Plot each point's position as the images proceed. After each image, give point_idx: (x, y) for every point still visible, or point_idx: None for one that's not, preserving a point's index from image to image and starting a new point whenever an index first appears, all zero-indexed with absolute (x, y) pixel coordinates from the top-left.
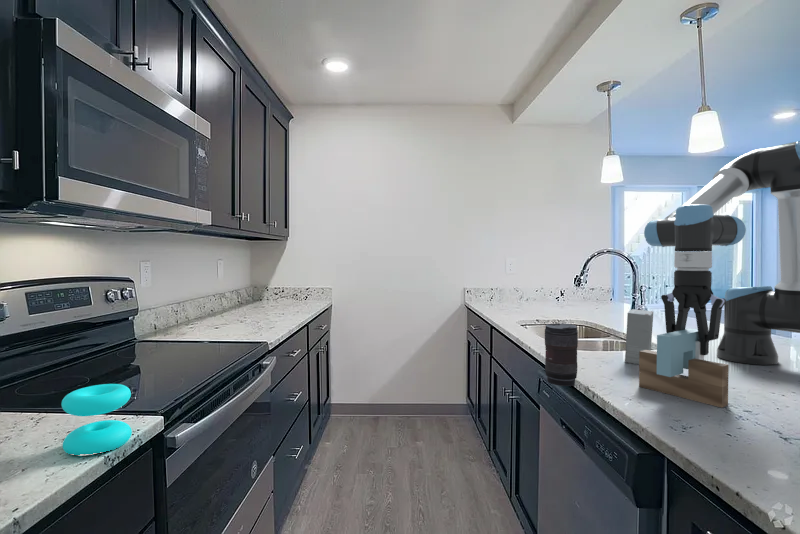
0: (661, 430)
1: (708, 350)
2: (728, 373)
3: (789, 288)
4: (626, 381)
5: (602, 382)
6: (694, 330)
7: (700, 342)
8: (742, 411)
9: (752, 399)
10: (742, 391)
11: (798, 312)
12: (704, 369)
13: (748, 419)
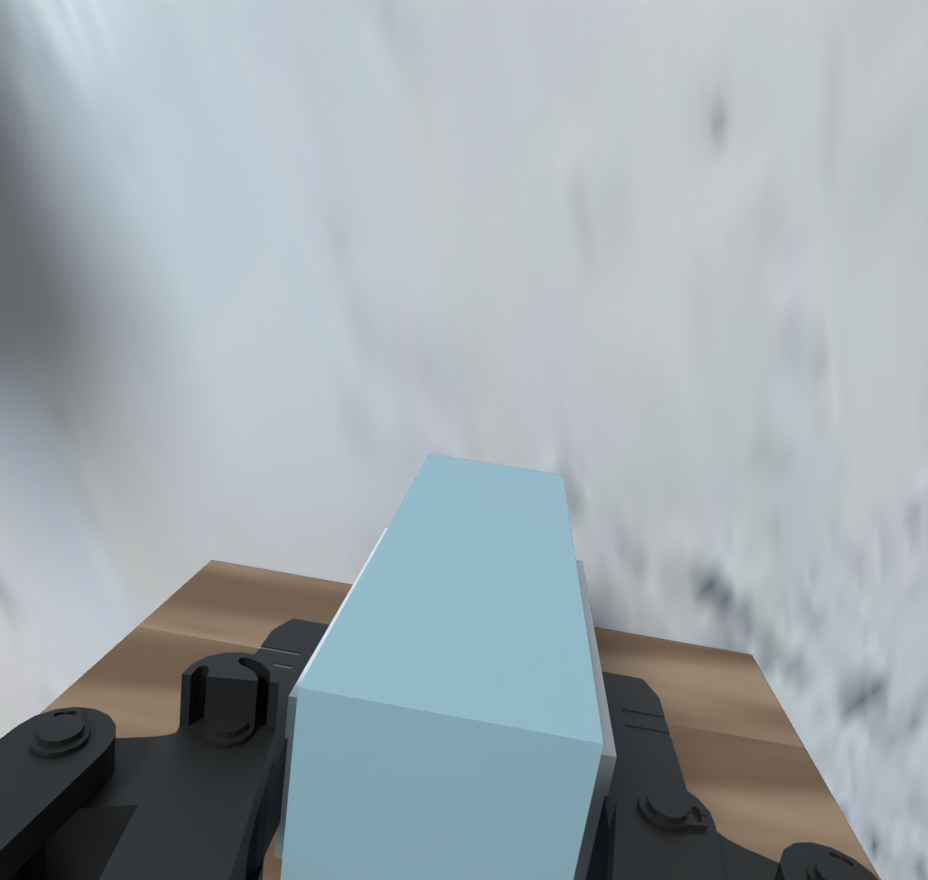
0: None
1: (665, 721)
2: (848, 823)
3: None
4: (90, 568)
5: (13, 705)
6: None
7: (588, 869)
8: (840, 723)
9: (876, 382)
10: (791, 180)
11: None
12: None
13: (881, 846)
